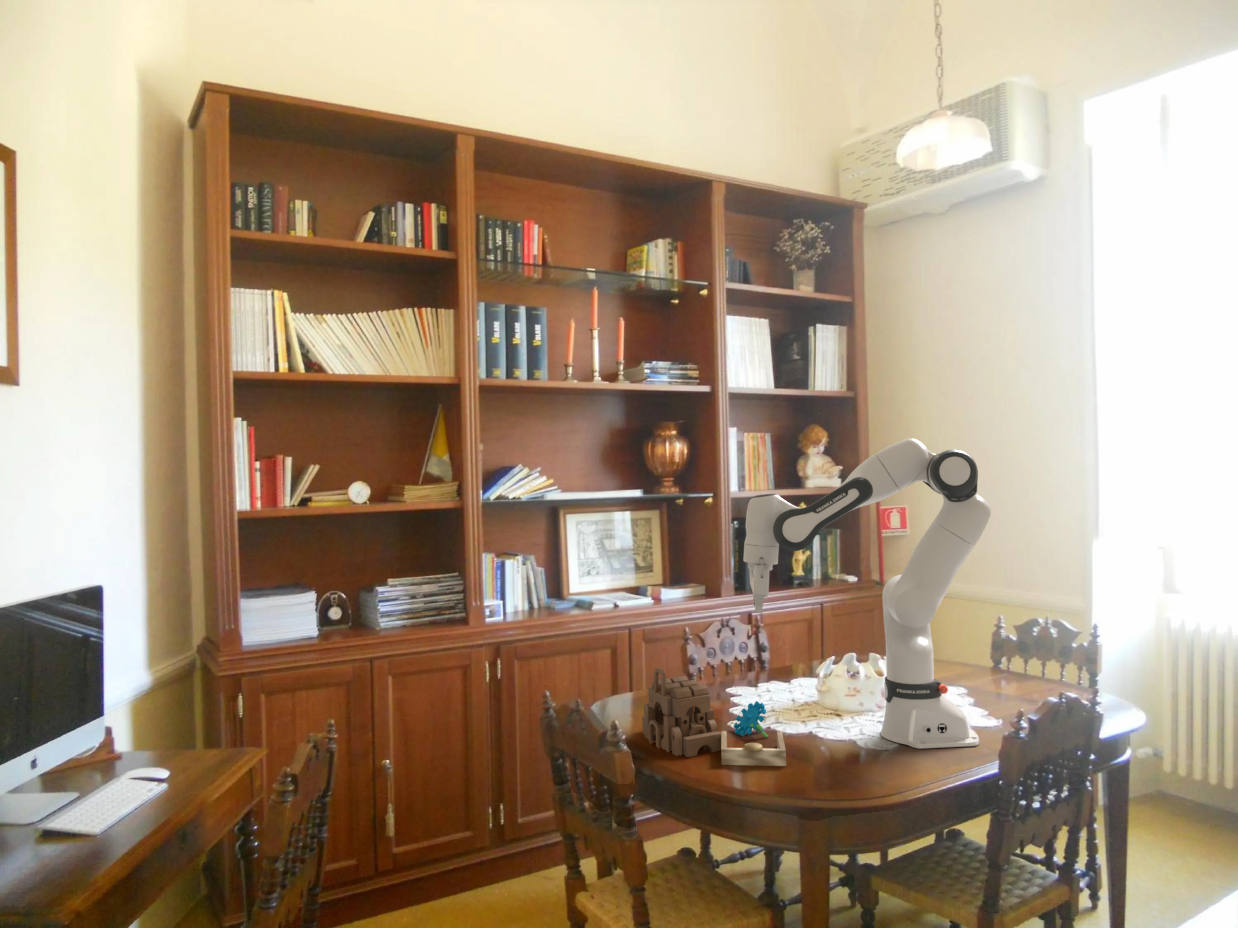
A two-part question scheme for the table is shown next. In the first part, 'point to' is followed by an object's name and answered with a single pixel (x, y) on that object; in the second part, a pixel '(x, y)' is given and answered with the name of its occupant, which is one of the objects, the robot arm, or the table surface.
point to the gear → (751, 720)
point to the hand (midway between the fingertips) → (757, 609)
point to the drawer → (753, 753)
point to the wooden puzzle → (680, 716)
